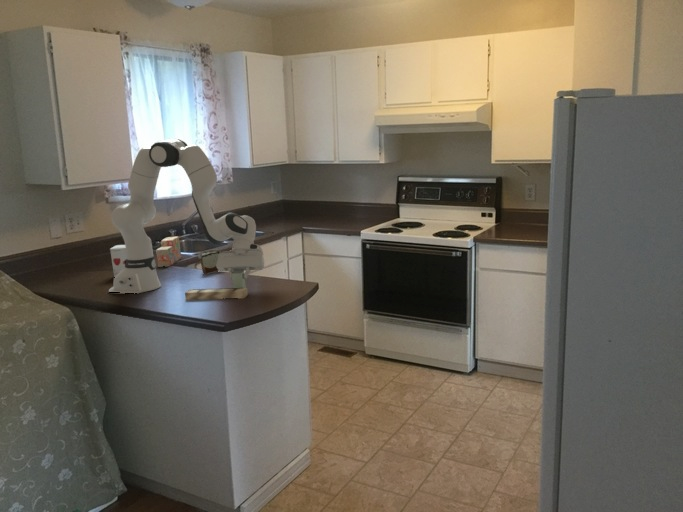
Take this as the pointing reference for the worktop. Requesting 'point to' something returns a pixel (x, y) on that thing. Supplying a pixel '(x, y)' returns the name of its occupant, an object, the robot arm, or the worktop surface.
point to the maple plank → (216, 293)
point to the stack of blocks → (168, 251)
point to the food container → (209, 260)
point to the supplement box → (118, 258)
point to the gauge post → (238, 279)
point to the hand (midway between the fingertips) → (238, 278)
